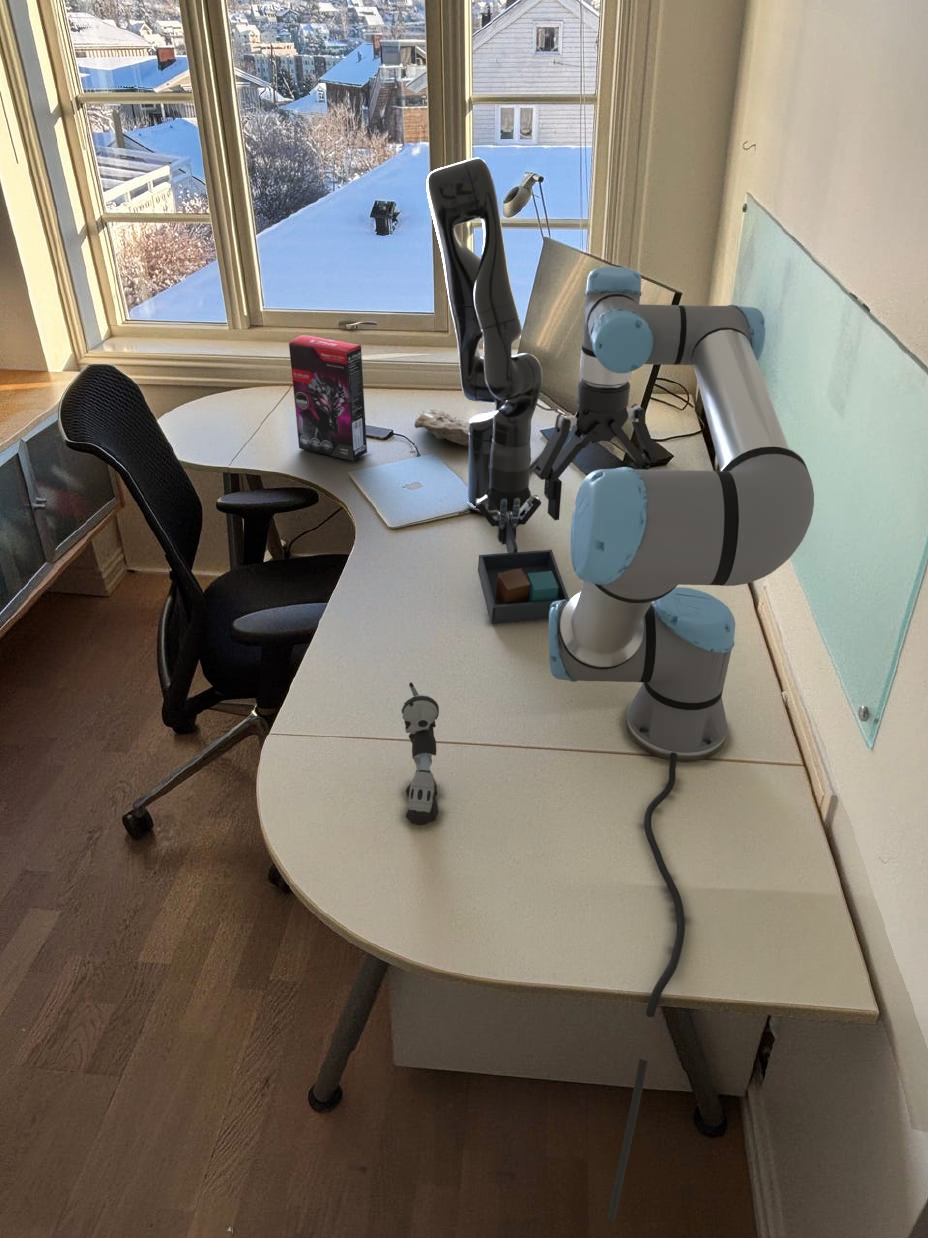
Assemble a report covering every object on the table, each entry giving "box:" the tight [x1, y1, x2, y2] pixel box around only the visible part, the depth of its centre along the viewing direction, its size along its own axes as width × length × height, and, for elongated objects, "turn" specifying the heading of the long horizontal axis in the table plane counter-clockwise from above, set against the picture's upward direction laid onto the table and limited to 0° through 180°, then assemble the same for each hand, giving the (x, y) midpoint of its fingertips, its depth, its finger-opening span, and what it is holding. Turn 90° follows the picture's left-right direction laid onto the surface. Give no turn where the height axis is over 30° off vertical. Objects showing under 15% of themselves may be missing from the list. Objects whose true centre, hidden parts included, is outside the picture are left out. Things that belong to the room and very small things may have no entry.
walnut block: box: [496, 568, 530, 605], centre depth 168 cm, size 4×4×6 cm
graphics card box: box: [288, 334, 368, 462], centre depth 223 cm, size 17×7×27 cm, turn 62°
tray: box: [477, 514, 570, 624], centre depth 175 cm, size 24×14×5 cm, turn 10°
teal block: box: [527, 571, 558, 602], centre depth 168 cm, size 4×4×6 cm
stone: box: [413, 409, 469, 447], centre depth 236 cm, size 21×15×6 cm
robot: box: [401, 681, 440, 826], centre depth 124 cm, size 20×5×20 cm, turn 3°
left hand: (506, 542), depth 183 cm, fingers closed on tray, 1 cm apart
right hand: (592, 510), depth 147 cm, fingers open, 13 cm apart
